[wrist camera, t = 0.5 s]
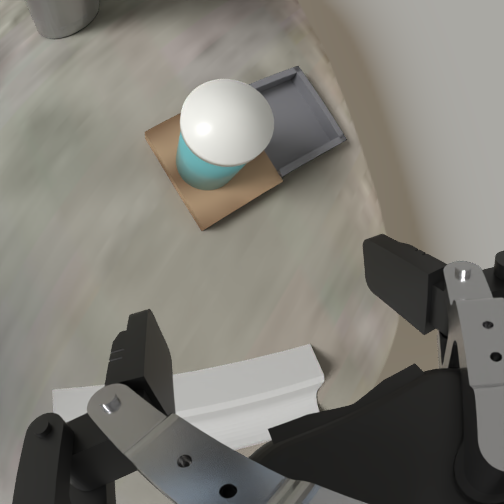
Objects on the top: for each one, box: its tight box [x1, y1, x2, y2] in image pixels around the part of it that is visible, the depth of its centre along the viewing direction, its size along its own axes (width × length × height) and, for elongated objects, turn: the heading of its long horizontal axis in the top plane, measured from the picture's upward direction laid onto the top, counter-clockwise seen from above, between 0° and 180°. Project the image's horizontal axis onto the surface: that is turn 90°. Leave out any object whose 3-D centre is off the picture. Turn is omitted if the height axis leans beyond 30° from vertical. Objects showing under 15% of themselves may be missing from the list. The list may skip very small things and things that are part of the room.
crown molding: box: [52, 344, 324, 450], centre depth 32 cm, size 31×12×4 cm, turn 98°
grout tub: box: [176, 79, 274, 190], centre depth 27 cm, size 7×7×11 cm
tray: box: [249, 66, 347, 177], centre depth 35 cm, size 11×10×3 cm
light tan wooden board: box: [145, 113, 283, 231], centre depth 33 cm, size 12×10×2 cm
